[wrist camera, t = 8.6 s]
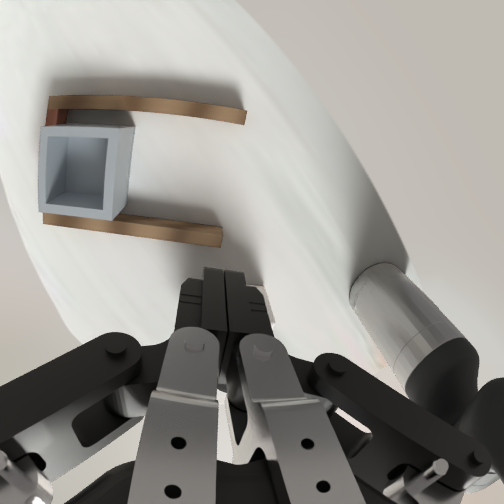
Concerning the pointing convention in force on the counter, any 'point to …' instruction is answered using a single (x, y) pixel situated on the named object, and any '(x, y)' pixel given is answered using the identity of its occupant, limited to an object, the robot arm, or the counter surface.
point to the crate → (84, 169)
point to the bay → (133, 223)
